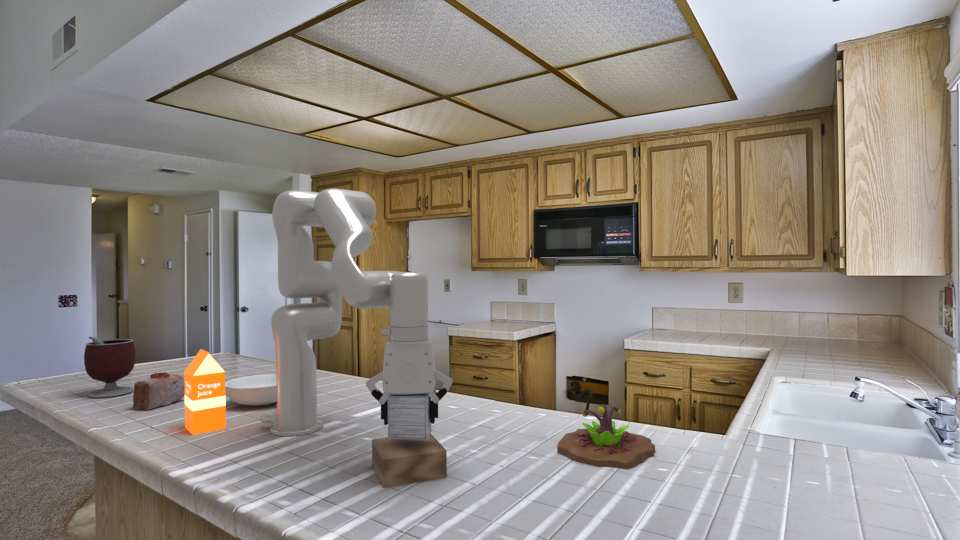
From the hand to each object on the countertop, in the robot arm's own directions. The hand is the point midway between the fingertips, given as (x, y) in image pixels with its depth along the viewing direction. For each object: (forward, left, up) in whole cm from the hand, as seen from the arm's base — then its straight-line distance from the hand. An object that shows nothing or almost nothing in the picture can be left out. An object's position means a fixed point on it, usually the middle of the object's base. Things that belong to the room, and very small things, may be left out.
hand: (409, 422), depth 100 cm
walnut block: (0, -1, -10) cm, 10 cm away
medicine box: (0, 0, -3) cm, 3 cm away
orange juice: (-55, +33, -10) cm, 65 cm away
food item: (-80, +59, -10) cm, 100 cm away
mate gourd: (-106, +75, -10) cm, 130 cm away
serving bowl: (-50, +58, -10) cm, 77 cm away
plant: (+41, +7, -11) cm, 43 cm away
